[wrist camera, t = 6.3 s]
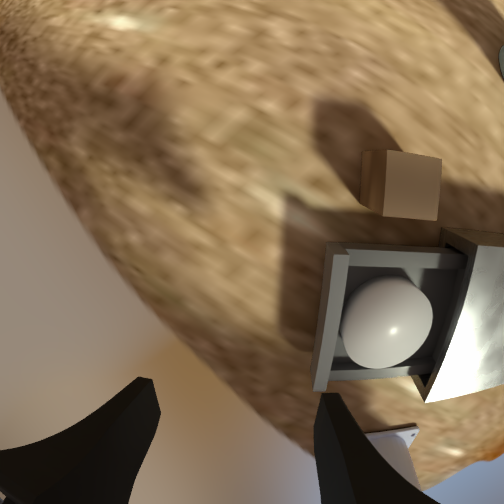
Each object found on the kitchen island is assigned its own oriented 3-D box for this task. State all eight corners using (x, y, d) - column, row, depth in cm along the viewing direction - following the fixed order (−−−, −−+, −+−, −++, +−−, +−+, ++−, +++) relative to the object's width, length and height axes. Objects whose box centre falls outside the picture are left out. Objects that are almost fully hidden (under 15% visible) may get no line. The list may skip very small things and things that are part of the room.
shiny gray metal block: (498, 352, 18) (520, 378, 14) (406, 367, 19) (424, 403, 15) (534, 237, 15) (566, 253, 11) (441, 227, 16) (478, 245, 12)
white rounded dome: (332, 355, 17) (336, 370, 16) (345, 273, 16) (352, 285, 14) (409, 351, 17) (417, 365, 16) (430, 275, 15) (442, 285, 14)
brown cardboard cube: (404, 207, 16) (436, 221, 12) (359, 203, 16) (382, 216, 12) (408, 157, 15) (442, 158, 11) (362, 151, 15) (387, 149, 11)
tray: (435, 361, 18) (446, 379, 16) (310, 368, 18) (312, 391, 16) (467, 249, 15) (487, 260, 13) (326, 241, 16) (333, 254, 14)
